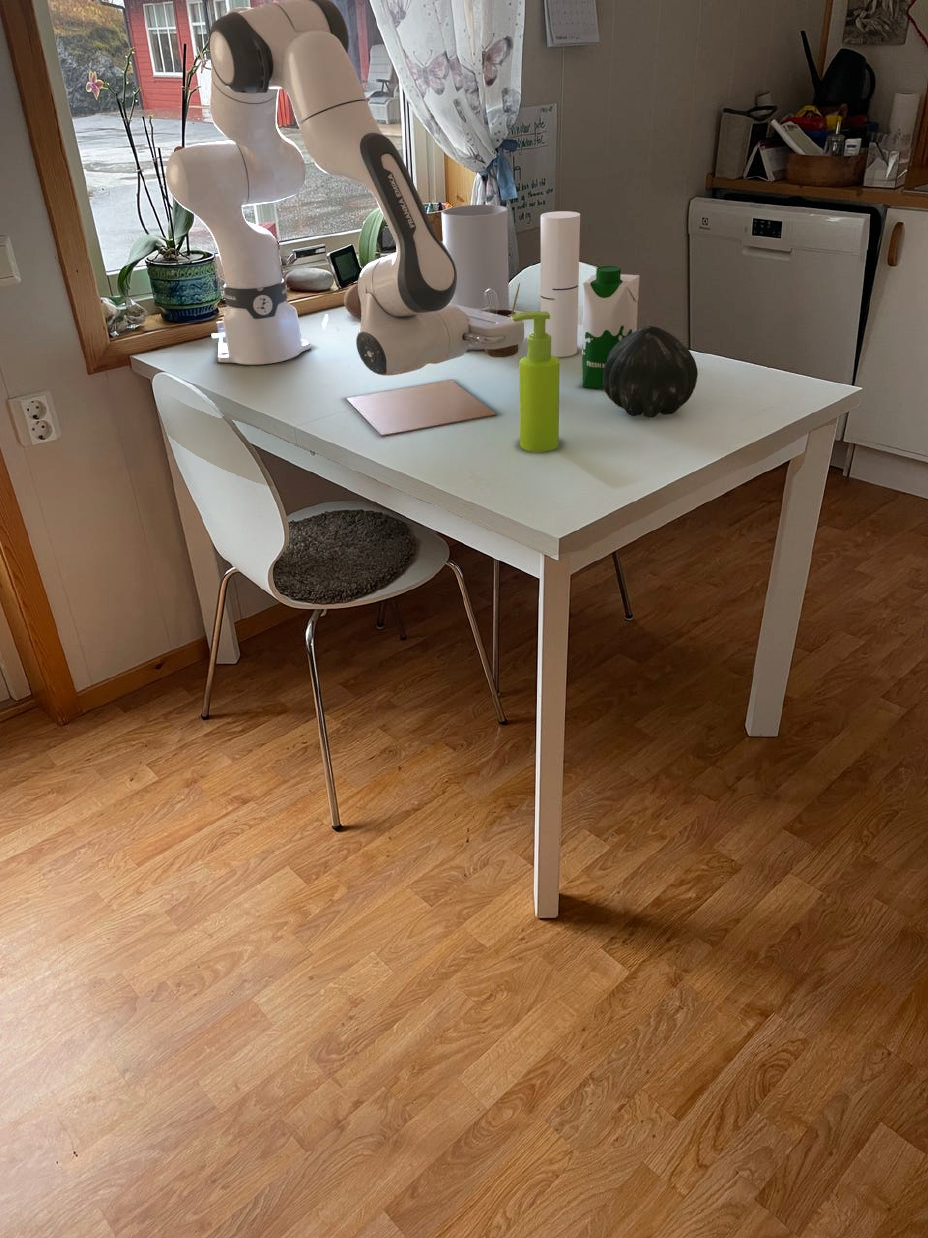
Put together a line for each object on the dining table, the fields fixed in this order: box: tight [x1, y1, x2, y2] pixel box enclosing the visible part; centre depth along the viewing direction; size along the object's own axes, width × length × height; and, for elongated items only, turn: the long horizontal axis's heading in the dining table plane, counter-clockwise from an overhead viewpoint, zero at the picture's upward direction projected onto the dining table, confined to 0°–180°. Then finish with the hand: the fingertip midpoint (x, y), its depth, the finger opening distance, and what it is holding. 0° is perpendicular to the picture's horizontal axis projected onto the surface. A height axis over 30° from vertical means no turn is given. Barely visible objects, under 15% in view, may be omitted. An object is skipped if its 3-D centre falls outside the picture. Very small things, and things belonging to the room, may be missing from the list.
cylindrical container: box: [539, 210, 581, 358], centre depth 181 cm, size 7×7×25 cm
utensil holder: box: [484, 282, 521, 358], centre depth 167 cm, size 6×6×12 cm
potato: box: [343, 283, 361, 319], centre depth 214 cm, size 7×10×7 cm
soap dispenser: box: [511, 310, 561, 453], centre depth 142 cm, size 6×7×20 cm
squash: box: [603, 325, 699, 419], centre depth 155 cm, size 14×15×15 cm
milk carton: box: [581, 265, 641, 390], centre depth 165 cm, size 9×9×20 cm
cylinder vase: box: [441, 204, 510, 351], centre depth 188 cm, size 12×12×25 cm
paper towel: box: [345, 379, 497, 437], centre depth 164 cm, size 20×20×1 cm
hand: (505, 315), depth 167 cm, fingers closed on utensil holder, 5 cm apart
